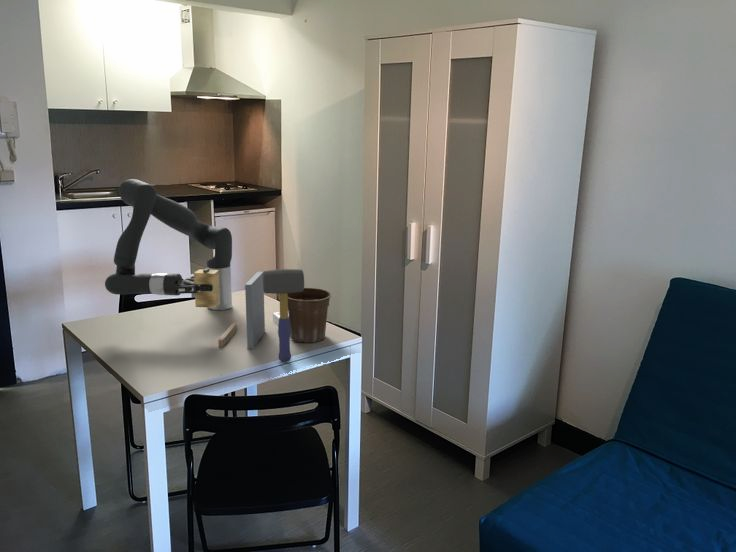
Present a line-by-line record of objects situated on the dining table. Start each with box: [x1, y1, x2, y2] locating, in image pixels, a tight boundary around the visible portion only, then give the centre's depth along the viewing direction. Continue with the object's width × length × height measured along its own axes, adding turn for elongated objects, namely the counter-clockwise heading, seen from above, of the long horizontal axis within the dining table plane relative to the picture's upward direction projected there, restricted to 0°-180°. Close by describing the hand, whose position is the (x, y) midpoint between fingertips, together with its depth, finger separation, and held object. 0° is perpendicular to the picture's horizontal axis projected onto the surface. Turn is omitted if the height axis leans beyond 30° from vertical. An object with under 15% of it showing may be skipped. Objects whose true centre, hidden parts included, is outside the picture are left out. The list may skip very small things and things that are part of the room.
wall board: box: [217, 271, 266, 349], centre depth 208 cm, size 12×18×22 cm, turn 177°
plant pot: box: [288, 287, 332, 344], centre depth 210 cm, size 16×16×16 cm
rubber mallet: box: [262, 268, 305, 364], centre depth 187 cm, size 12×8×30 cm, turn 104°
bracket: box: [272, 311, 289, 326], centre depth 225 cm, size 13×7×8 cm, turn 27°
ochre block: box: [193, 267, 220, 308], centre depth 206 cm, size 7×5×13 cm
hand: (214, 285), depth 206 cm, fingers closed on ochre block, 5 cm apart
